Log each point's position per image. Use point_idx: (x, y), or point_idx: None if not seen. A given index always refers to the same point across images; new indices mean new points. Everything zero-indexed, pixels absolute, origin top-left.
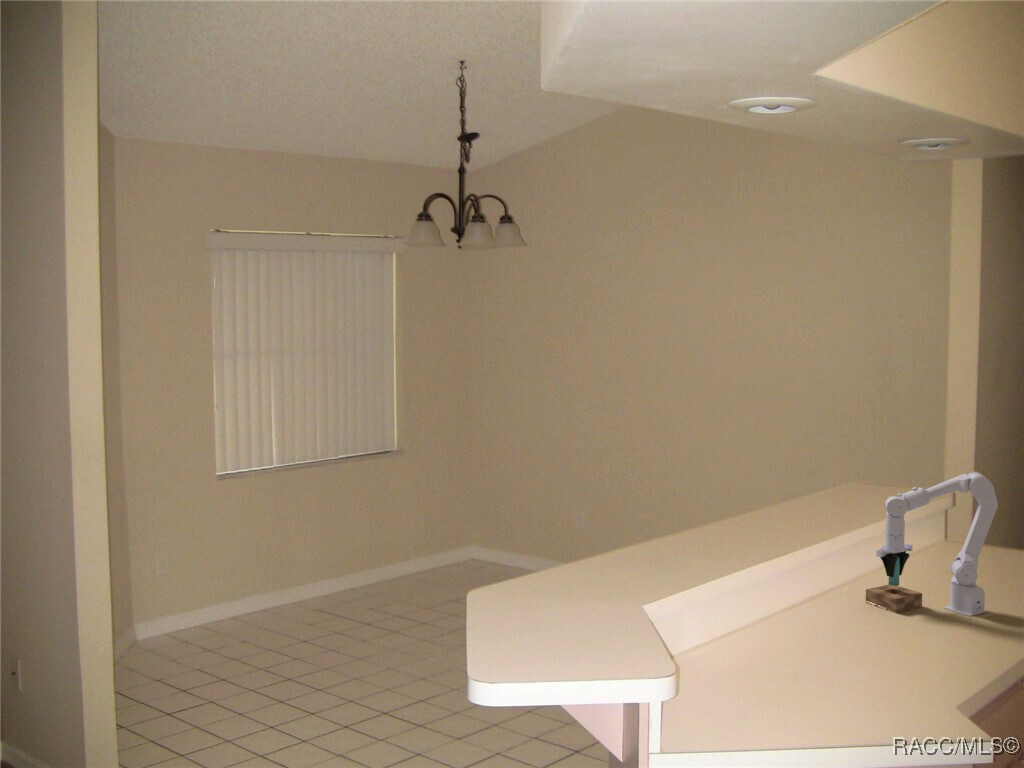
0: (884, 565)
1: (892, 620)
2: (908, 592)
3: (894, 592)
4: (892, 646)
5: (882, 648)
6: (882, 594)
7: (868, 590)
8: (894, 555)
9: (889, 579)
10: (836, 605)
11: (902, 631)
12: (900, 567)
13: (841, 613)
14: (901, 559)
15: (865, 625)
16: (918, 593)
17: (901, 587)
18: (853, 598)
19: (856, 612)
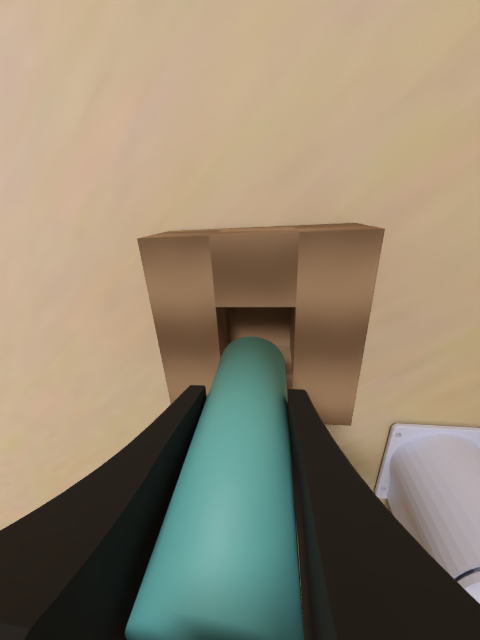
0: (124, 452)
1: (137, 403)
2: (305, 388)
3: (294, 310)
4: (32, 487)
5: (6, 483)
6: (163, 346)
7: (141, 259)
8: (323, 633)
9: (214, 376)
10: (30, 182)
11: (107, 458)
12: (296, 497)
13: (9, 277)
14: (305, 638)
15: (36, 390)
16: (332, 418)
17: (360, 317)
18: (170, 125)
19: (69, 296)
